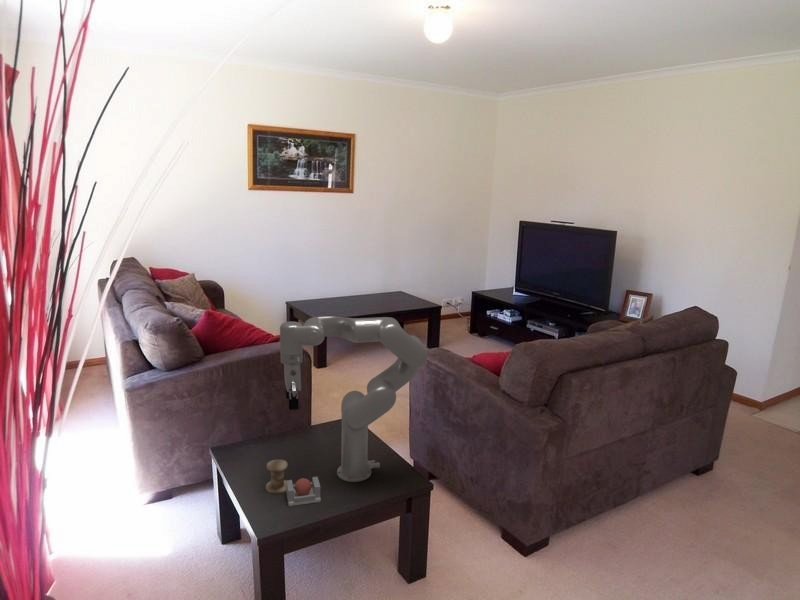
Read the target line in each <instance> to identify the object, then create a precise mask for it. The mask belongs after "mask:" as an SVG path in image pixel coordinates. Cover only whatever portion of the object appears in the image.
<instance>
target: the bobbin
mask: <svg viewBox="0 0 800 600" xmlns="http://www.w3.org/2000/svg"><path fill="white" fill-rule="evenodd" d="M287 468H288V462H287V461H286V460H285V459H278V458H277V459H272V460H270V461H268V462H267V463H266V469H267V470H268V471H270V480H269V481H268V482H267V483H266V484H265V490H266V492H267V493H270V494H274V495H278V494H282V493H286V489H287V483H286V479H285V470H286V469H287Z"/></svg>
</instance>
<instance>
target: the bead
mask: <svg viewBox="0 0 800 600" xmlns="http://www.w3.org/2000/svg"><path fill="white" fill-rule="evenodd" d="M310 482H311V481H310V480H309V479H307V478H304V477H302V478H299V479H298V480H296V482H295V483H294V484H295V491H296V493H297V494H299V495H306V494H308V493H309V492H310V490H311V483H310Z"/></svg>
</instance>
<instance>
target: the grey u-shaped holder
mask: <svg viewBox="0 0 800 600" xmlns="http://www.w3.org/2000/svg"><path fill="white" fill-rule="evenodd" d="M285 480H286V479H285ZM311 480H312V481H310V483H311V490H310V492H309V493H308V494H306V495H299V494H297V493H296V491H295V484H296V483H294V484H293V480H292V479H288V480H286V483H287V489H286V491H285V493H286V498H287V505H288V507H293V506H301V505H307V504H312V503H313V504H314V503H321V502H322V499H321V484H320V480H319V478H318V476H312V477H311Z"/></svg>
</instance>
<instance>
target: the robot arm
mask: <svg viewBox="0 0 800 600" xmlns="http://www.w3.org/2000/svg"><path fill="white" fill-rule="evenodd" d="M325 337H338V338H342V339H345V340H347V341H349V342H352V343H357V344H358V343H375V342H376V343H378V342H380V343H381V344H382V345H383V346H384V347H385V348H386V349H388V351H389V352H391V354H393V355H394V356H396V357H397V358H396V360H395V362H393V364H391V365H390V366H389V367H387V368H385V369H384V370H382V372H380V373H378V374H377V375H376V376H374V377H373V378H371V379H370V380H369V381H368V383H367V384H366V385H367V386H366V392H367V393H366V394H364V393H362V392H361V391H359V390H351V391H349V392H347V393H346V394H345V395H344V396H343V398H342V400H341V405H340V406H341V407H340V410H341V449H340V450H341V462H340V464H341V465H339V467H338V468H337V470H336V475H337V476H338V478H339V479H340V480H342V481H345V482H349V483H358V482H363V481H365V480H367V479H369V478H370V477H371V475H372V469H379V468H381V463H380V461H379V462H378V461H376V460H375V459H372V460H369V459H368V446H369V445H368V442H369V441H368V440H369V439H368V438H369V437H368V435H369V425H371V424H373V422H375V421H376V420H378V419H380V418H381V417H382V416H384V415H385V414H387V412H389V411H390V410H391V409H392V408H393V407H394V405H395V404H396V402H397V401H396V400H397V392H398V391H399V390H400V389H402V388H403V387H404V386H406V385H407V384H408V383H410V381H411V380H413V378H414V377H415V375H416V374H417V372H418V370H419V368H420V367H421V368H422V366H424V365H425V364H426V362H427V360H428V351H427V349H426V347H425V346H424V344H423V342H422V341H421V340H420V338H419V337H417V336H416V335H410V334H409V333H408V332H406V331H405V330H404V328H403V327H401V325H400V323H399V321H398V320H397V319H395V318H394V317H392V316H391V317H390V316H389V317H388V316H382V317H379V316H377V317H360V318H359V317H358V318H357V317H356V318H355V317H354V318H353V317H343V316H333V315H332V316H331V315H330V316H314V317H313V316H312V317H310V318H308V319H307V320H306V321H305V322H304V323H303V325H302V324H301V323H300V322H298V321H285V322H282V323H281V324H280V326H279V343H280V345H279V347H280V352H279V353H280V363H281V364H283V373H284V384H285V399H286V400H288V410H289V411H292V410H299V394H298V392H301V391H302V380H301V379H302V377H301V374H302V373H301V363H303V360H304V359H303V349H304V348H303V347H304V346H310V347H311V346H312V347H315V346H318V345H321V344H322V343H323V342H324V340H325V339H326V338H325Z"/></svg>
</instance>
